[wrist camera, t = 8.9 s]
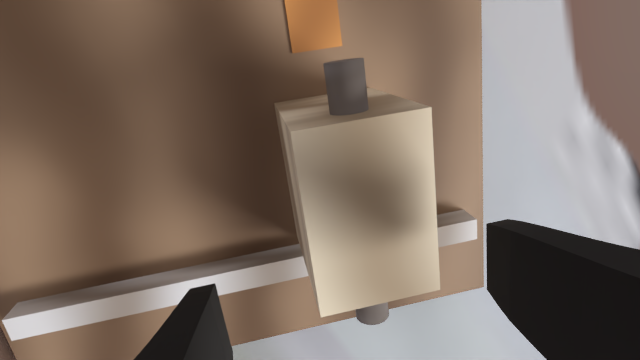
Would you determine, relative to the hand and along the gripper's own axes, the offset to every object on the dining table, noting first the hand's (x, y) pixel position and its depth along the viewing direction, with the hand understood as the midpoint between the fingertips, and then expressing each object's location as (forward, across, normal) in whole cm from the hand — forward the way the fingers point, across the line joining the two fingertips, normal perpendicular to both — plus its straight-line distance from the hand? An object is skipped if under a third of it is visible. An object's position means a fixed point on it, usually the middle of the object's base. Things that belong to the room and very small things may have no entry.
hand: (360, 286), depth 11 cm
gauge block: (+8, -1, -1) cm, 8 cm away
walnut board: (+9, +3, -1) cm, 10 cm away
